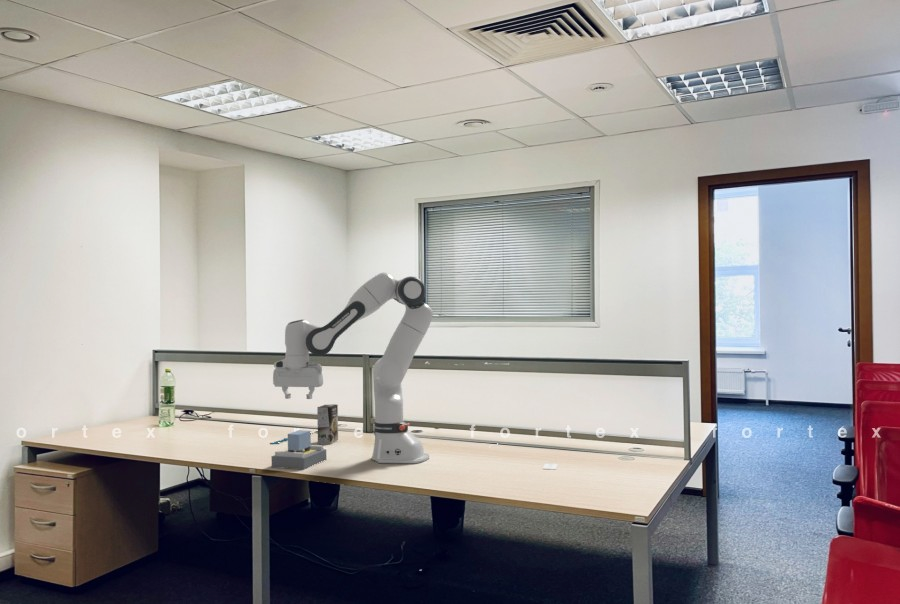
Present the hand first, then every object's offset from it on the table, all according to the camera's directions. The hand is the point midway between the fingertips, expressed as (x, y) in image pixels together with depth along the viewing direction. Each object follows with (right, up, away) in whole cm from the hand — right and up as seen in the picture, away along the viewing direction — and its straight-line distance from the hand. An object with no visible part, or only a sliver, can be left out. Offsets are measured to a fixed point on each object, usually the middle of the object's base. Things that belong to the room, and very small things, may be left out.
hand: (298, 398), depth 254 cm
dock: (0, -25, 0) cm, 25 cm away
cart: (0, -20, 0) cm, 20 cm away
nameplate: (-12, -26, +54) cm, 61 cm away
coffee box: (+4, -25, +40) cm, 47 cm away
